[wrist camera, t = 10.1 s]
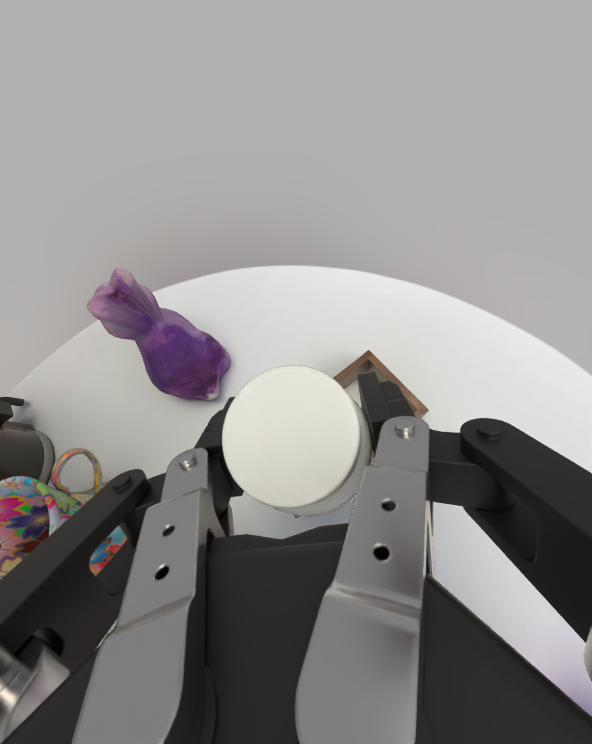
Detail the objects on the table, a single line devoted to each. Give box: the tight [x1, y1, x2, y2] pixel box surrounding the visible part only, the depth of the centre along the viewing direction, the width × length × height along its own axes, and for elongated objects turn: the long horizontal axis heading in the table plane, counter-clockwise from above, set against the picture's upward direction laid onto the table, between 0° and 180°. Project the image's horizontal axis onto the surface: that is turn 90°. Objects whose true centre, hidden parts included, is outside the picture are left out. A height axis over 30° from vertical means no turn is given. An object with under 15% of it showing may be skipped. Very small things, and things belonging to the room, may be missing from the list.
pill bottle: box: [222, 365, 372, 516], centre depth 12 cm, size 5×5×8 cm
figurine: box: [87, 268, 230, 400], centre depth 29 cm, size 9×10×15 cm
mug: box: [0, 448, 127, 580], centre depth 27 cm, size 12×9×11 cm
